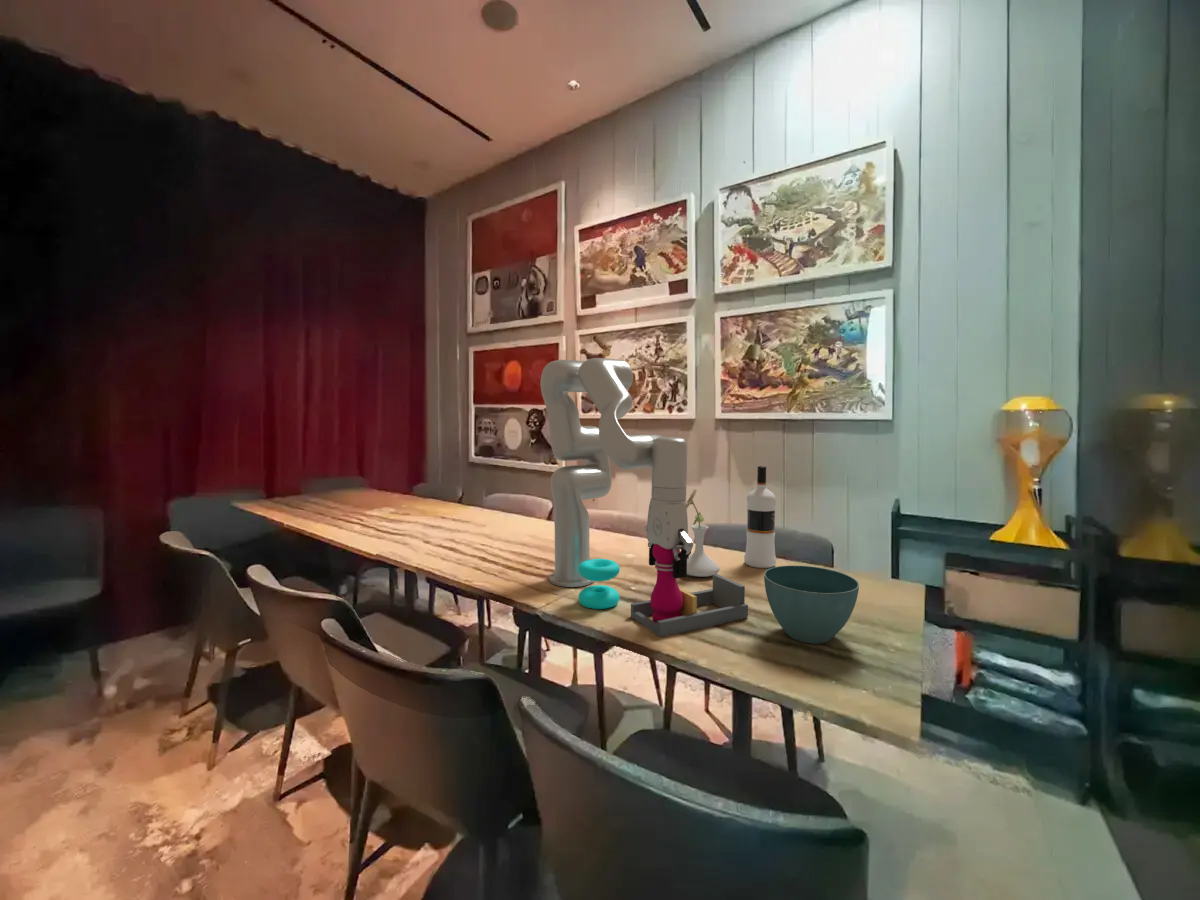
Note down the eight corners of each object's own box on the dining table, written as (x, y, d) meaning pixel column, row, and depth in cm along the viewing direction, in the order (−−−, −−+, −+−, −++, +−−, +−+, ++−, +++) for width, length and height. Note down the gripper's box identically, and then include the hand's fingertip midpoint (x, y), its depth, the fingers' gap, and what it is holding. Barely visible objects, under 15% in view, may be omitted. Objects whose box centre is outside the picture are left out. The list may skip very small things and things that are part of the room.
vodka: (740, 560, 168) (742, 464, 166) (770, 560, 168) (772, 464, 166) (749, 569, 159) (751, 467, 156) (780, 569, 159) (783, 467, 157)
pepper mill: (674, 630, 114) (673, 538, 113) (644, 623, 118) (643, 534, 117) (688, 619, 120) (688, 531, 119) (659, 612, 124) (658, 527, 123)
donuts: (615, 556, 136) (623, 568, 126) (615, 595, 137) (623, 609, 127) (576, 558, 134) (580, 569, 124) (576, 597, 135) (581, 612, 125)
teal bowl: (846, 622, 119) (847, 568, 118) (867, 659, 101) (869, 595, 100) (760, 615, 123) (761, 562, 122) (766, 650, 105) (767, 588, 104)
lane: (630, 616, 122) (630, 586, 122) (713, 600, 132) (713, 572, 132) (660, 637, 111) (660, 604, 111) (747, 618, 121) (748, 587, 121)
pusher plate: (668, 609, 125) (668, 584, 125) (672, 609, 125) (672, 584, 125) (692, 624, 117) (692, 597, 116) (696, 623, 117) (696, 596, 117)
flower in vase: (689, 566, 162) (690, 483, 160) (725, 572, 155) (727, 486, 153) (668, 577, 151) (669, 488, 149) (706, 584, 145) (707, 492, 143)
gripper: (634, 489, 124) (632, 562, 125) (676, 502, 108) (674, 585, 110) (662, 487, 127) (660, 558, 128) (707, 499, 111) (704, 580, 113)
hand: (667, 570), depth 119 cm, fingers open, 9 cm apart
